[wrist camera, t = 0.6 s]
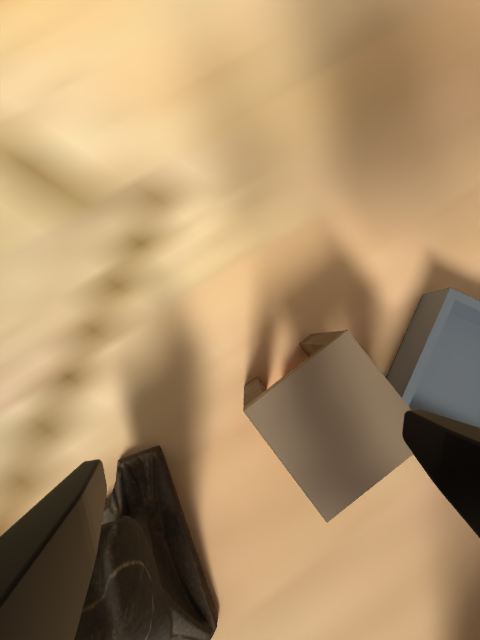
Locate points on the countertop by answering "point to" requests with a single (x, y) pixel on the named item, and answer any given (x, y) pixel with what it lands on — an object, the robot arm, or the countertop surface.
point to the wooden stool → (331, 421)
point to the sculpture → (146, 563)
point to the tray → (441, 357)
